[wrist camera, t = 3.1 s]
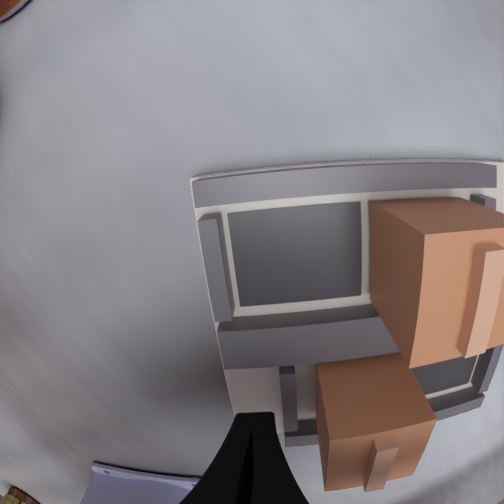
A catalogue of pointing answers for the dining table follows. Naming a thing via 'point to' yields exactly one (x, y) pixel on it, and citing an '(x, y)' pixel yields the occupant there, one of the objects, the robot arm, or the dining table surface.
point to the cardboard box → (438, 276)
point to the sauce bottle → (17, 497)
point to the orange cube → (370, 421)
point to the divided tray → (318, 278)
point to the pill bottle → (10, 7)
